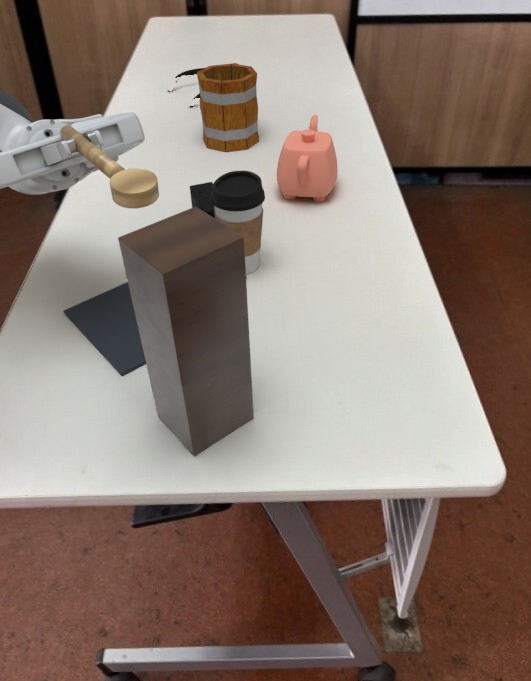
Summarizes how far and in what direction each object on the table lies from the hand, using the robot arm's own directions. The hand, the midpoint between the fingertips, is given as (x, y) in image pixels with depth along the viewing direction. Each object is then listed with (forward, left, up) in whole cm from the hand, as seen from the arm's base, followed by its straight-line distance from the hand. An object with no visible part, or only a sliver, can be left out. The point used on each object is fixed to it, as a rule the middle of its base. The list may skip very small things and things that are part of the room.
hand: (83, 143), depth 64 cm
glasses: (-23, +99, -29) cm, 106 cm away
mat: (-1, +2, -29) cm, 29 cm away
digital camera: (+2, +30, -29) cm, 42 cm away
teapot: (+16, +50, -29) cm, 60 cm away
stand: (+16, -12, -29) cm, 35 cm away
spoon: (+3, -2, -2) cm, 4 cm away
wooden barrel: (-7, +73, -29) cm, 79 cm away
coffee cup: (+11, +21, -29) cm, 37 cm away
